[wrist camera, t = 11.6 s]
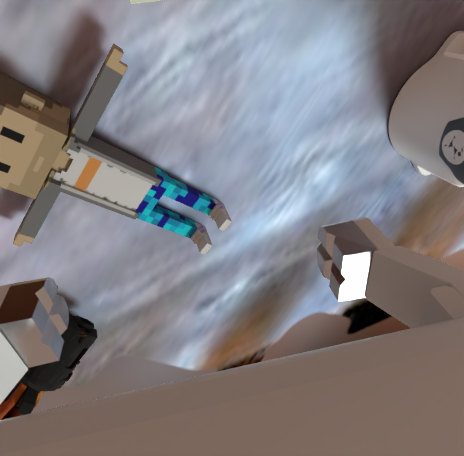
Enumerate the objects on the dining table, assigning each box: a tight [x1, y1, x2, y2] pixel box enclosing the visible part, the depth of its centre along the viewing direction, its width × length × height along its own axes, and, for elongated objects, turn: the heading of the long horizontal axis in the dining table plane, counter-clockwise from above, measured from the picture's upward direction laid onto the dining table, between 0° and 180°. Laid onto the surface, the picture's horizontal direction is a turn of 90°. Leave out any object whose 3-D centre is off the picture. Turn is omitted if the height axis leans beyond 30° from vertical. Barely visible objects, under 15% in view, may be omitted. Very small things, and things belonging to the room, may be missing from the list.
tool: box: [0, 315, 97, 420], centre depth 55 cm, size 8×23×15 cm, turn 131°
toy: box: [0, 44, 232, 254], centre depth 42 cm, size 26×8×30 cm
